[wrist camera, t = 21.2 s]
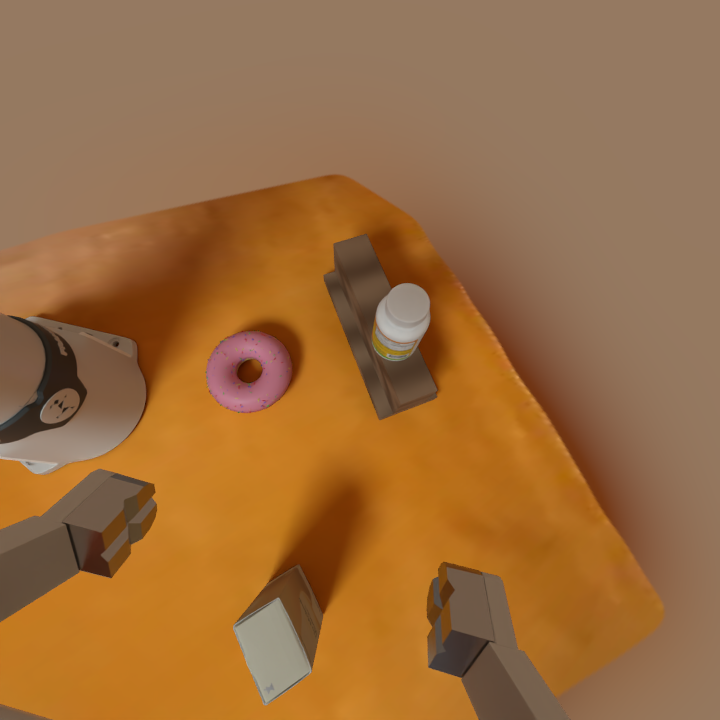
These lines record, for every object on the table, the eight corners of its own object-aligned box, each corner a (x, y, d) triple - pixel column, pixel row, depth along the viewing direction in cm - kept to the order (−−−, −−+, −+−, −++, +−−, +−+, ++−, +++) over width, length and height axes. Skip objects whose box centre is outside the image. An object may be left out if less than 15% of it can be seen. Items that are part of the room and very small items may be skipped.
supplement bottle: (394, 310, 42) (408, 265, 33) (426, 341, 41) (450, 303, 32) (361, 338, 41) (366, 299, 32) (393, 371, 40) (408, 341, 31)
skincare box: (324, 615, 39) (316, 676, 28) (289, 639, 38) (265, 712, 27) (298, 559, 41) (279, 595, 29) (264, 581, 40) (230, 627, 28)
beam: (434, 399, 47) (451, 385, 40) (379, 420, 46) (386, 410, 38) (374, 264, 53) (379, 230, 46) (324, 280, 52) (320, 247, 44)
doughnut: (307, 353, 49) (304, 342, 45) (273, 428, 45) (266, 424, 41) (236, 326, 49) (226, 313, 45) (197, 397, 46) (183, 390, 42)
